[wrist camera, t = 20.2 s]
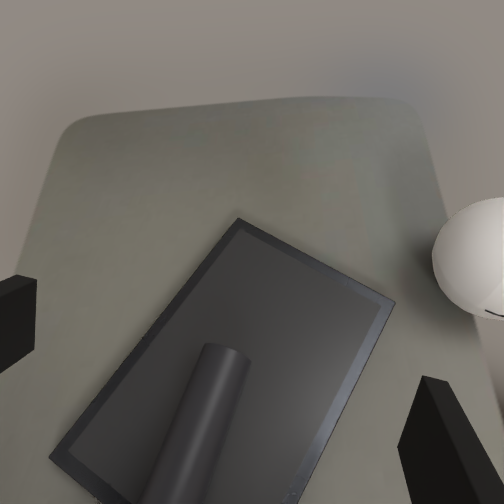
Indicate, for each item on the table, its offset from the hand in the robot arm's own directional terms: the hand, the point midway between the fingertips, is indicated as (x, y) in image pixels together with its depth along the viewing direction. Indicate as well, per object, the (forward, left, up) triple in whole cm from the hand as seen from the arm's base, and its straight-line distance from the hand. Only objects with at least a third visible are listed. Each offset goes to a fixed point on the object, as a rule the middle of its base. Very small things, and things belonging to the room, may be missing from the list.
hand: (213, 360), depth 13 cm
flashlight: (-1, +2, -9) cm, 9 cm away
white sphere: (+11, +16, -11) cm, 22 cm away
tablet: (0, +2, -11) cm, 11 cm away
